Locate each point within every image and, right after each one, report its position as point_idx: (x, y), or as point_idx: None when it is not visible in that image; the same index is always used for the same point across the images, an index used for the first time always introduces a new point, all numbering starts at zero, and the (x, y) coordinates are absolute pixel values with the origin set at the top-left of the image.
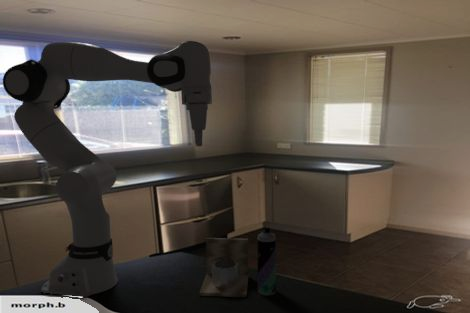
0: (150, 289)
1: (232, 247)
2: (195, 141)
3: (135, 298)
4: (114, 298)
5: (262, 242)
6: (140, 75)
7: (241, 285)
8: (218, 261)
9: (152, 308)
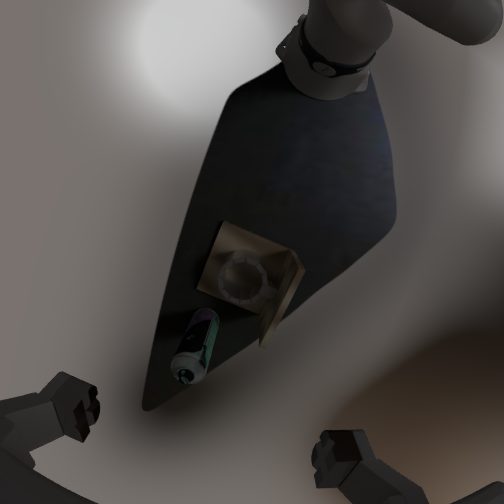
0: (273, 146)
1: (272, 312)
2: (335, 443)
3: (249, 121)
4: (261, 92)
5: (176, 353)
6: None
7: None
8: (261, 273)
9: (209, 144)
